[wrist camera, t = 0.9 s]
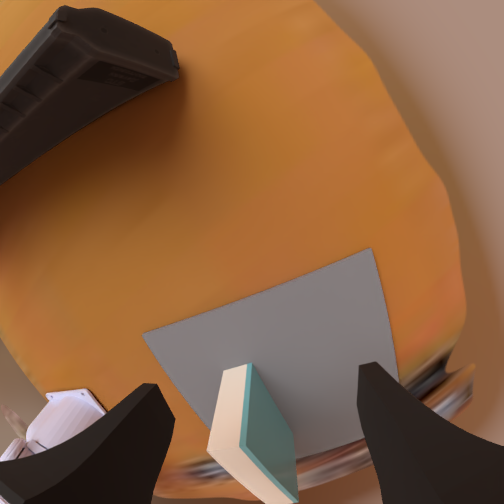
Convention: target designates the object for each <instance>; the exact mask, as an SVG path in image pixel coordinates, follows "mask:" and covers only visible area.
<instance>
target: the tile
mask: <svg viewBox="0 0 504 504" xmlns="http://www.w3.org/2000/svg"><path fill="white" fill-rule="evenodd" d="M207 452H208V453H209V454H210V455H211V456H212V457H213V458H214V459H215V460H216V461H217V462H218V463H219V464H220V465H221V466H222V467H223V468H224V469H225V470H227V471H228V472H229V473H230V474H231V475H232V476H233V477H234V478H235V479H236V480H238V481H239V482H240V483H241V484H242V485H243V486H244V487H246V488H247V489H248V490H249V491H250V492H252V493H253V494H254V495H255V496H256V497H258V498H259V499H260V500H262V501H263V502H264V503H265V504H291V503H296V502H299V498H298V485H297V472H296V460H295V448H294V437H293V433H292V431H291V429H290V428H289V426H288V424H287V423H286V421H285V419H284V418H283V416H282V414H281V413H280V411H279V409H278V408H277V406H276V404H275V402H274V401H273V399H272V397H271V396H270V394H269V392H268V390H267V389H266V387H265V385H264V383H263V381H262V380H261V378H260V376H259V374H258V373H257V371H256V369H255V367H254V365H253V363H249V364H245V365H242V366H238V367H235V368H231V369H228V370H224V371H223V375H222V380H221V385H220V390H219V394H218V399H217V404H216V409H215V413H214V418H213V423H212V428H211V433H210V437H209V442H208V447H207Z"/></svg>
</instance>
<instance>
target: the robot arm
mask: <svg viewBox="0 0 504 504" xmlns="http://www.w3.org/2000/svg"><path fill="white" fill-rule="evenodd" d="M46 397H47V398H48V400H49V403H48V404H47V405H46V406H45V407H44V409H43V410H42V411H41V412H40V413H39V415H38V416H37V417H36V418H35V420H34V421H33V422H32V423H31V424H30V426H29V427H28V429H27V434H26V440H27V443H26V441H25V440H24V439H23V438H21V439H20V438H15V440H14V441H13V442H12V443H11V444H10V446H9V447H8V448H7V450H6V451H5V452H4V453H3V455H2V456H1V458H0V504H151V500H152V495H153V491H154V487H155V484H156V481H157V478H158V476H159V473H160V470H161V467H162V465H163V462H164V459H165V457H166V454H167V451H168V448H169V445H170V442H171V439H172V434H173V429H174V423H175V417H174V415H173V414H172V412H171V410H170V408H169V406H168V404H167V402H166V401H165V399H164V397H163V395H162V393H161V391H160V389H159V387H158V385H157V384H149V383H143V384H142V385H141V386H139V387H138V388H137V389H135V390H134V391H133V392H132V393H130V394H129V395H128V396H127V397H126V398H124V399H123V400H122V401H121V402H120V403H118V404H117V405H116V406H115V407H114V408H112V409H111V410H110V411H109V412H106V411H105V410H104V409H103V408H102V406H101V405H100V404H99V403H98V401H97V400H96V399H95V398H94V396H93V395H92V394H91V393H90V391H89V390H87V389H78V390H70V391H62V392H52V393H47V394H46ZM356 405H357V409H358V414H359V419H360V423H361V428H362V431H363V434H364V437H365V440H366V443H367V446H368V449H369V452H370V454H371V457H372V460H373V463H374V466H375V470H376V473H377V475H378V479H379V484H380V489H381V495H382V501H383V504H504V446H501V445H498V444H495V443H492V442H489V441H487V440H485V439H482V438H480V437H477V436H475V435H473V434H470V433H468V432H466V431H464V430H463V429H461V428H459V427H457V426H455V425H454V424H452V423H450V422H449V421H447V420H445V419H444V418H442V417H441V416H439V415H438V414H436V413H435V412H434V411H432V410H431V409H430V408H428V407H427V406H426V405H424V404H423V403H422V402H420V401H419V400H418V399H417V398H416V397H414V396H413V395H412V394H411V393H410V392H408V391H407V390H406V389H405V388H404V387H403V386H402V385H401V384H399V383H398V382H397V381H396V380H395V379H394V378H393V377H392V376H391V375H390V374H389V373H388V372H387V371H386V370H385V369H384V368H383V367H382V366H381V365H380V364H379V363H377V362H376V361H375V362H371V363H366V364H362V365H359V370H358V389H357V403H356Z"/></svg>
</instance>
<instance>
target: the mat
mask: <svg viewBox="0 0 504 504" xmlns="http://www.w3.org/2000/svg"><path fill="white" fill-rule="evenodd" d="M142 337H143V339H144V340H145V342H146V343H147V345H148V346H149V348H150V350H151V351H152V353H153V354H154V356H155V357H156V359H157V360H158V362H159V363H160V365H161V366H162V368H163V369H164V371H165V372H166V374H167V375H168V376H169V378H170V379H171V381H172V382H173V383H174V385H175V386H176V388H177V389H178V390H179V392H180V393H181V394H182V396H183V397H184V398H185V400H186V401H187V402H188V404H189V405H190V406H191V407H192V409H193V410H194V411H195V412H196V414H197V415H198V416H199V417H200V419H201V420H202V421H203V422H204V424H205V425H206V426H207V427H208V428H209V430H210V431H211V428H212V423H213V418H214V413H215V409H216V404H217V399H218V394H219V390H220V385H221V380H222V375H223V371H224V370H228V369H231V368H235V367H238V366H242V365H245V364H249V363H253V365H254V367H255V369H256V371H257V373H258V374H259V376H260V378H261V380H262V381H263V383H264V385H265V387H266V389H267V390H268V392H269V394H270V396H271V397H272V399H273V401H274V402H275V404H276V406H277V408H278V409H279V411H280V413H281V414H282V416H283V418H284V419H285V421H286V423H287V424H288V426H289V428H290V429H291V431H292V433H293V437H294V448H295V459H298V458H302V457H306V456H310V455H314V454H317V453H321V452H324V451H327V450H331V449H334V448H337V447H340V446H343V445H346V444H349V443H351V442H354V441H357V440H360V439H362V438H365V437H364V434H363V431H362V428H361V423H360V419H359V414H358V409H357V405H356V403H357V389H358V370H359V365H362V364H366V363H371V362H375V361H376V362H377V363H379V364H380V365H381V366H382V367H383V368H384V369H385V370H386V371H387V372H388V373H389V374H390V375H391V376H392V377H393V378H394V379H395V380H396V381H397V382H398V383H399V378H398V371H397V364H396V357H395V351H394V345H393V339H392V333H391V328H390V323H389V318H388V313H387V308H386V304H385V299H384V295H383V291H382V287H381V283H380V279H379V275H378V271H377V267H376V263H375V260H374V256H373V252H372V249H371V248H368V249H366V250H363V251H361V252H359V253H356V254H354V255H352V256H349V257H347V258H344V259H342V260H340V261H337V262H335V263H333V264H330V265H328V266H325V267H323V268H320V269H318V270H315V271H313V272H311V273H308V274H306V275H303V276H301V277H298V278H296V279H293V280H290V281H288V282H285V283H283V284H280V285H278V286H275V287H272V288H270V289H267V290H265V291H262V292H259V293H257V294H254V295H251V296H249V297H246V298H243V299H241V300H238V301H235V302H233V303H230V304H227V305H224V306H222V307H219V308H216V309H213V310H210V311H208V312H205V313H202V314H199V315H196V316H193V317H190V318H187V319H185V320H182V321H179V322H176V323H173V324H170V325H167V326H164V327H161V328H158V329H155V330H152V331H149V332H146V333H143V335H142Z"/></svg>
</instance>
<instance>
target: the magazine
mask: <svg viewBox="0 0 504 504" xmlns="http://www.w3.org/2000/svg"><path fill="white" fill-rule="evenodd" d="M178 69H179V63H178V59H177V54H176V51H175V50H173V47H172V44H171V42H170V41H168V40H166V39H164V38H163V37H161V36H159V35H157V34H155V33H153V32H151V31H149V30H147V29H145V28H143V27H141V26H139V25H137V24H134V23H132V22H130V21H128V20H126V19H123V18H121V17H119V16H116V15H114V14H112V13H109V12H107V11H104V10H102V9H99V8H84V9H76V8H72V7H69V6H66V5H64V6H61V7H59V8H58V9H57V10H56V11H55V12H54V13H53V15H52V16H51V17H50V18H49V21H48V22H47V23H46V24H45V26H44V27H43V28H42V29H41V30H40V31H39V32H38V33H37V35H36V36H35V37H34V38H33V39H32V41H31V42H30V43H29V44H28V45H27V46H26V47H25V49H24V50H23V51H22V52H21V53H20V54H19V55H18V57H17V58H16V59H15V60H14V61H13V63H12V64H11V65H10V66H9V67H8V68H7V70H6V71H5V72H4V73H3V74H2V76H1V77H0V185H1V184H3V183H4V182H5V181H7V180H8V179H9V178H11V177H12V176H13V175H15V174H16V173H17V172H19V171H20V170H22V169H23V168H24V167H26V166H27V165H29V164H30V163H31V162H33V161H34V160H35V159H37V158H38V157H40V156H41V155H43V154H44V153H45V152H47V151H48V150H50V149H51V148H53V147H54V146H56V145H57V144H58V143H60V142H61V141H63V140H64V139H66V138H67V137H69V136H70V135H72V134H73V133H75V132H76V131H78V130H80V129H81V128H83V127H84V126H86V125H87V124H89V123H91V122H92V121H94V120H95V119H97V118H99V117H100V116H102V115H104V114H105V113H107V112H109V111H110V110H112V109H114V108H115V107H117V106H119V105H121V104H123V103H124V102H126V101H128V100H130V99H132V98H134V97H136V96H138V95H139V94H141V93H143V92H145V91H147V90H150V89H152V88H154V87H156V86H158V85H160V84H162V83H164V82H167V81H171V82H172V81H174V80H176V79H178V78H179V74H178Z"/></svg>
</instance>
